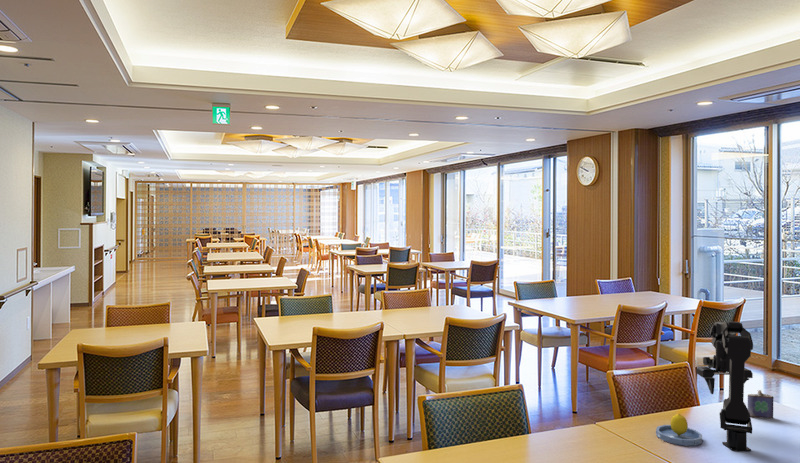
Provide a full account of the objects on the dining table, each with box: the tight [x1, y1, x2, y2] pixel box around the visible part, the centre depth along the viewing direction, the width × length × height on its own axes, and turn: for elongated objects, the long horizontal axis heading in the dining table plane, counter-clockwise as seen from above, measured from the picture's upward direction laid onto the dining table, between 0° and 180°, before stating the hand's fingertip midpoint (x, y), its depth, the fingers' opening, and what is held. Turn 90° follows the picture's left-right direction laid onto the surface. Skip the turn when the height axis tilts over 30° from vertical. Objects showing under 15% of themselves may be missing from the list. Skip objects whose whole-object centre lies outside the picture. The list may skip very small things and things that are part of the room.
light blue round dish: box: [655, 424, 703, 447], centre depth 193 cm, size 15×15×2 cm
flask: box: [747, 389, 775, 419], centre depth 215 cm, size 9×3×11 cm, turn 76°
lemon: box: [670, 413, 689, 436], centre depth 193 cm, size 6×6×8 cm
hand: (724, 394), depth 206 cm, fingers open, 9 cm apart
